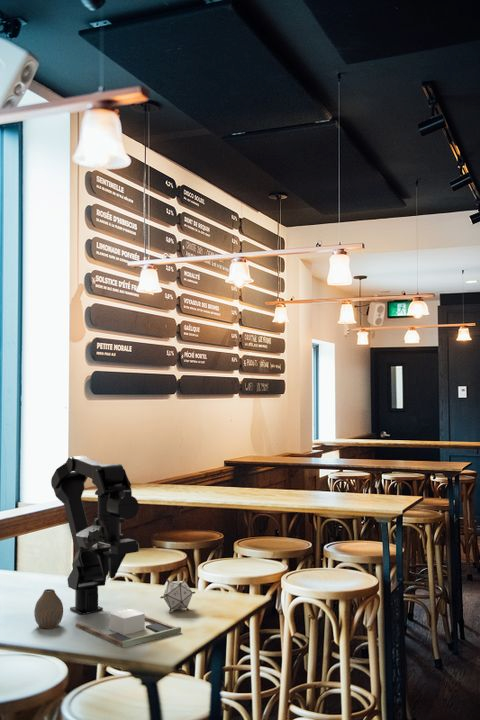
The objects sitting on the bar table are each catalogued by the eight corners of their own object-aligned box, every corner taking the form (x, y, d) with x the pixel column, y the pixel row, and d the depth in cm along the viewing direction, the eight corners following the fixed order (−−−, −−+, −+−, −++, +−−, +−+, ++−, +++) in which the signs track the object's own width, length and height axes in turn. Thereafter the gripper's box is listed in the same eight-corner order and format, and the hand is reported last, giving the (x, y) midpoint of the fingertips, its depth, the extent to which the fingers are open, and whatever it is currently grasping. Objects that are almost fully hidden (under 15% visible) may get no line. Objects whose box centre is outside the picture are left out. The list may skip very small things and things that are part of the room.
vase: (38, 621, 191) (39, 586, 192) (66, 622, 191) (66, 586, 192) (30, 630, 184) (30, 593, 185) (58, 630, 184) (59, 593, 185)
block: (109, 630, 185) (109, 613, 186) (130, 624, 189) (130, 608, 190) (124, 635, 181) (124, 618, 181) (144, 630, 185) (144, 613, 185)
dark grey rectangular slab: (106, 637, 179) (106, 635, 179) (155, 625, 188) (155, 623, 188) (120, 643, 175) (120, 641, 175) (170, 630, 184) (170, 628, 184)
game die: (182, 626, 200) (188, 601, 194) (153, 612, 202) (158, 587, 196) (196, 601, 207) (202, 577, 202) (167, 589, 209) (173, 564, 204)
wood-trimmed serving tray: (75, 626, 188) (75, 621, 188) (131, 613, 198) (131, 608, 198) (123, 647, 172) (123, 642, 172) (180, 632, 182) (180, 627, 183)
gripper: (62, 513, 194) (61, 575, 194) (100, 522, 180) (100, 589, 180) (100, 509, 202) (99, 568, 201) (140, 517, 188) (140, 581, 187)
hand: (108, 577), depth 192 cm, fingers open, 3 cm apart
